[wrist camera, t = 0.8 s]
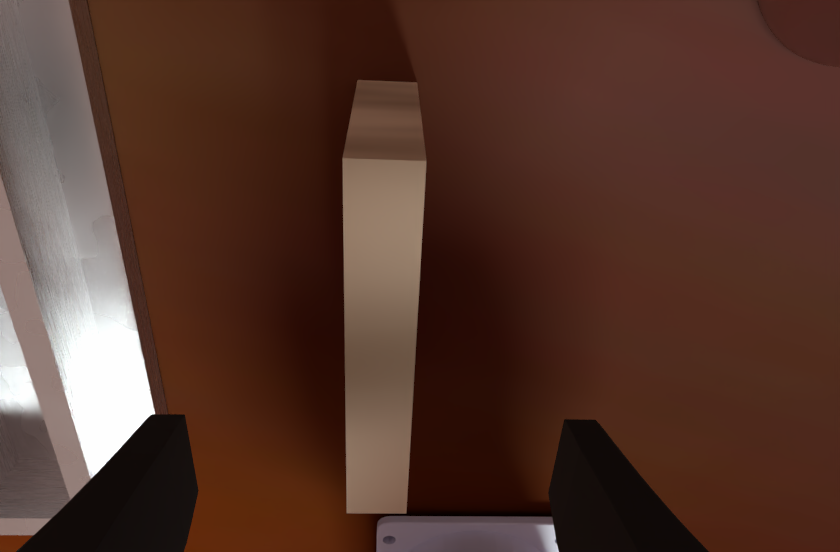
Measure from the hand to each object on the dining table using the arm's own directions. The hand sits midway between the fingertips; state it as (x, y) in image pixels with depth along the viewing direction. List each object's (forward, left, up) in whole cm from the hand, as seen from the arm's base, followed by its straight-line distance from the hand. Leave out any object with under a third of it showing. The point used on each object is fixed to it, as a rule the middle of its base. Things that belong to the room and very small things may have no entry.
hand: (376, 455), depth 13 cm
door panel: (0, 0, -9) cm, 9 cm away
